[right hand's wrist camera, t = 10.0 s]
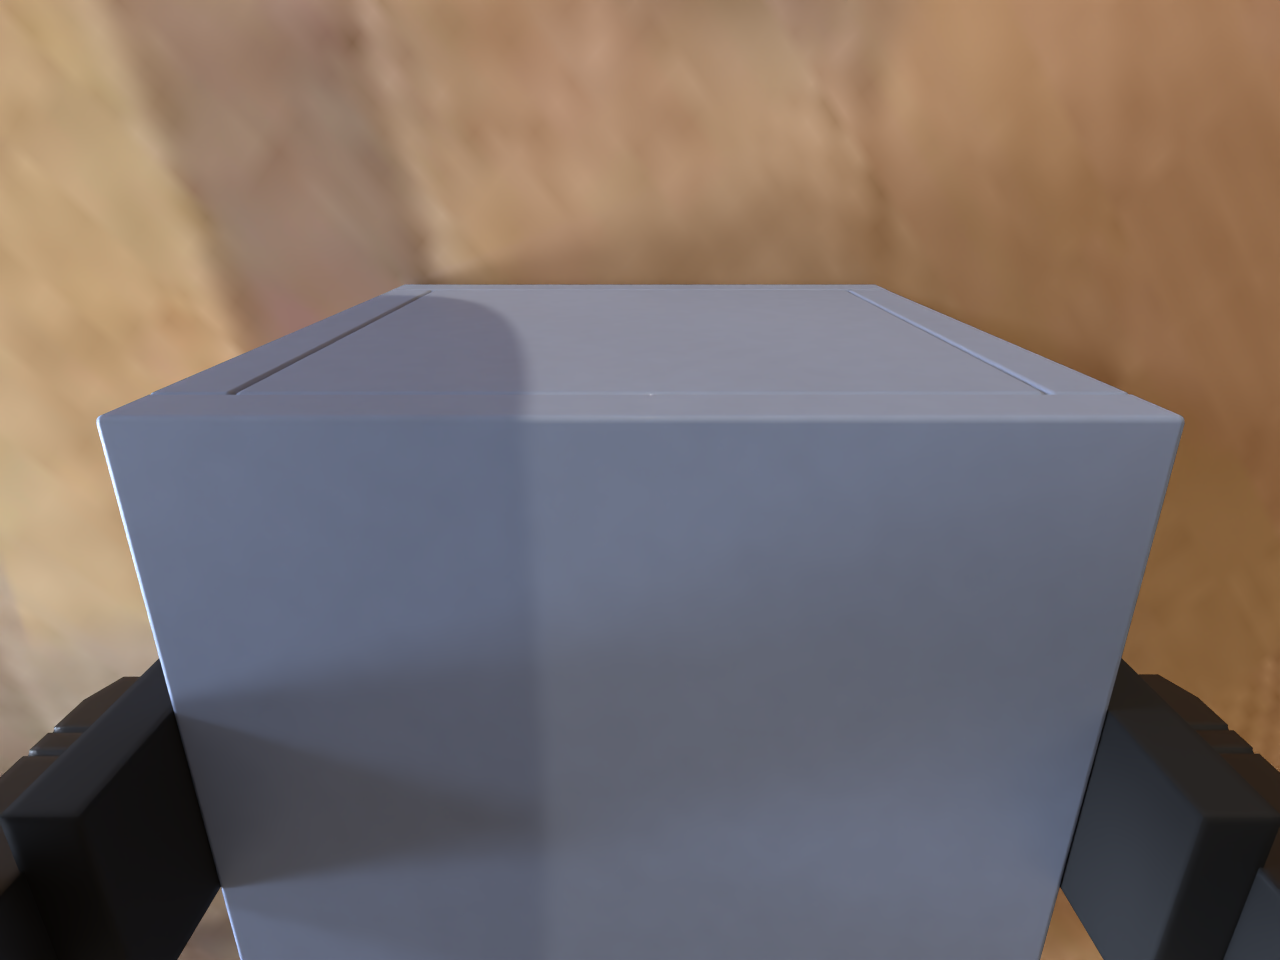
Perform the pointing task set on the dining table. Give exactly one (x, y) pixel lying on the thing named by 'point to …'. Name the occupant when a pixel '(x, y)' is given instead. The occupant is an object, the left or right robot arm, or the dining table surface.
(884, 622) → the cabinet
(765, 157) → the dining table surface
